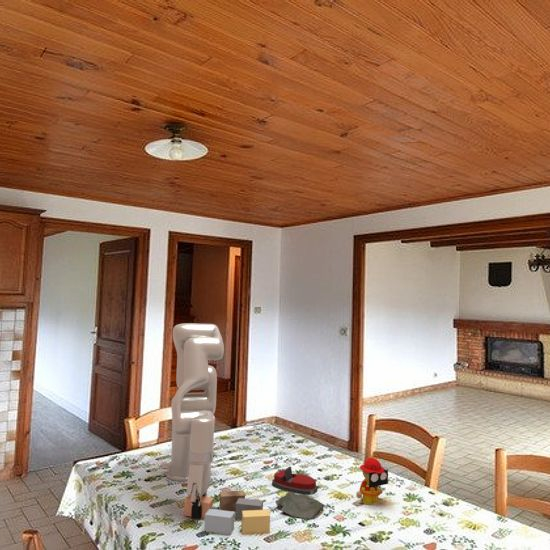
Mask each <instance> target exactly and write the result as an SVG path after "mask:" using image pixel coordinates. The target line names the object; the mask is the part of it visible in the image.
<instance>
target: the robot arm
mask: <svg viewBox="0 0 550 550" xmlns="http://www.w3.org/2000/svg"><path fill="white" fill-rule="evenodd" d="M172 340H173V344H174V348H175V350H176V356H177V357H176V358H177V359H176V376H175V377H176V379H175V381H176V382H175V383H176V386H177V388H178V389H177V390H176V392H175V394H174V396H173V397H172V398H171V403H170V405H171V421H172V422H171V426H172V428H171V432H172V434H171V450H170V451H171V456H170V457H171V458H170V462H167V461H162V462H161V463H160V464H161V465H160V466H161V469H162V470H167V471H166V472H165V473H166V475H165V476H166V478H167V479H168V478H169V479H168V480H170V479H171V480H170V481H174V480H175V481H176V482H186V481H187V485H186V486H187V487H186V488H187V489H186V494H187V497H188V496H190V495H191V494H192V495H191V500H190V501H191V502H192V511H191V516H190V518H191V519H195V518H197V520H202V519H201V517H202V505H201V499H202V496H205V497H208V489H209V488H210V486H211V482H212V481H211V478H212V477H211V476H212V465H211V464H212V462H213V461H214V441H215V439H214V437H215V426H216V425H215V424H216V418H215V415H214V414H215V412H216V407H217V388H218V386H217V385H218V375H217V370H216V368H215V367H214V366H213V365H209V361H219V360H221V359H222V358H223V357H224V353H225V347H224V346H225V344H224V341H223V337H222V334H221V332H220V329H219V327H218V326H217V325H216V324H214V323H194V322H193V323H192V322H189V323H179V324H176V325H174V327H173V329H172ZM200 390H202V391H204V392H191V391H200ZM196 497H197V498H199V501H198V499H196Z"/></svg>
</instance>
